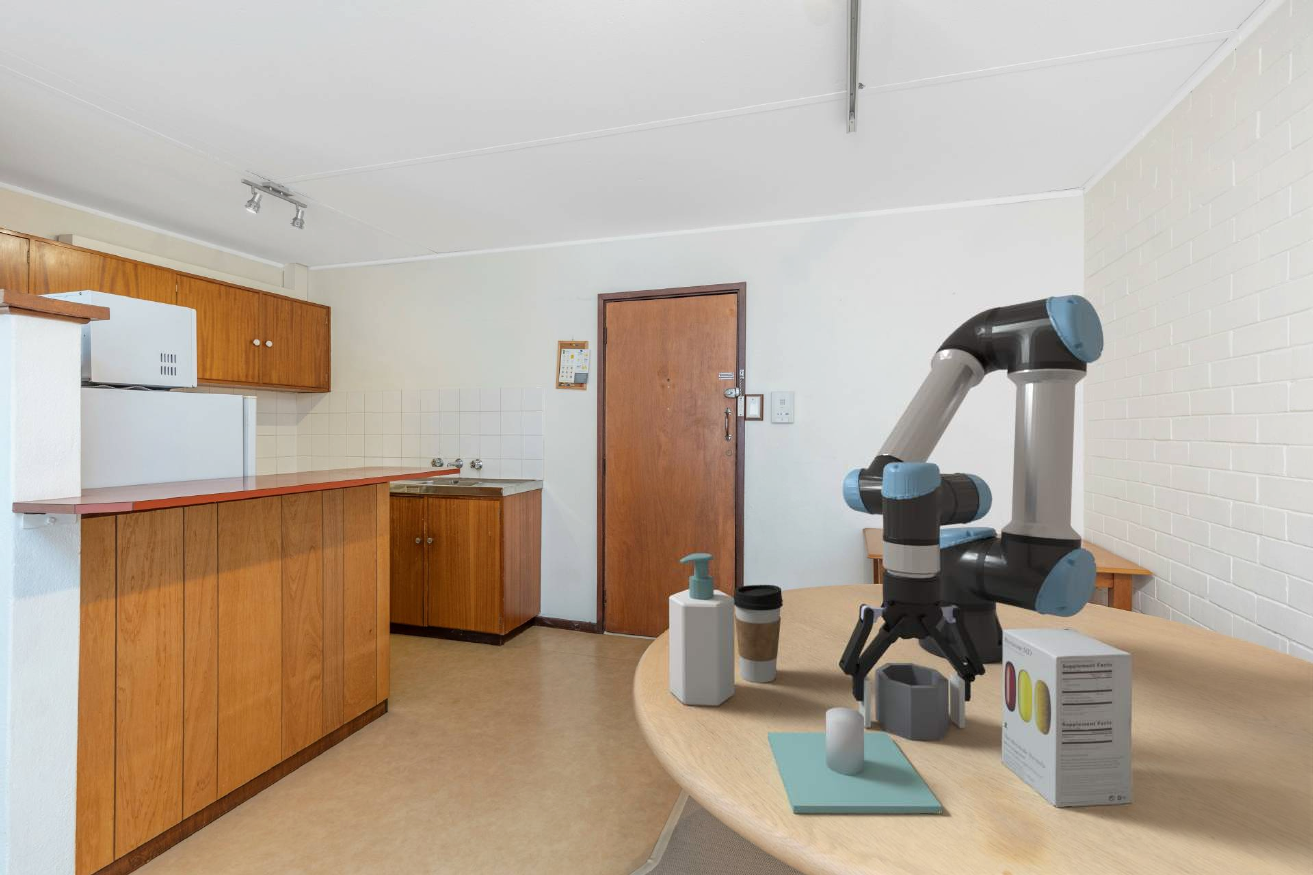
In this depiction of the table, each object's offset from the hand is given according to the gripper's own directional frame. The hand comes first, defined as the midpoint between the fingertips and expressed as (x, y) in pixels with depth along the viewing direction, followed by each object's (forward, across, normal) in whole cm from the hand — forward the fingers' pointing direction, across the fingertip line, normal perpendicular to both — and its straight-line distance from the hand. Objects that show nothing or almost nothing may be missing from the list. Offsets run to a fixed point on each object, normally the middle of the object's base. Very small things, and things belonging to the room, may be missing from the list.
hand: (911, 723), depth 84 cm
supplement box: (0, -12, +14) cm, 18 cm away
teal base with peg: (0, +13, +12) cm, 18 cm away
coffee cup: (0, +19, -17) cm, 26 cm away
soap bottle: (0, +29, -10) cm, 31 cm away
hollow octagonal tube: (0, 0, 0) cm, 0 cm away
